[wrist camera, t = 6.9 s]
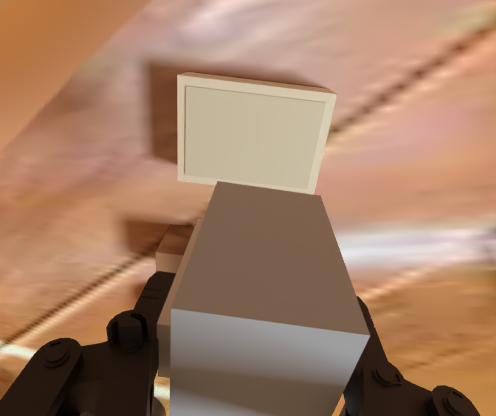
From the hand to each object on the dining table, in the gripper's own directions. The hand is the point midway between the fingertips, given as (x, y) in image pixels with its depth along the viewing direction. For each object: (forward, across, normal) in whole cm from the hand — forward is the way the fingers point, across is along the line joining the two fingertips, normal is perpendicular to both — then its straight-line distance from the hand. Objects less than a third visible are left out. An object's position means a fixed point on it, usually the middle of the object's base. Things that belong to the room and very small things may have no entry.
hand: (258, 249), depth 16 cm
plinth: (+19, +1, -1) cm, 19 cm away
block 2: (0, 0, 0) cm, 0 cm away
